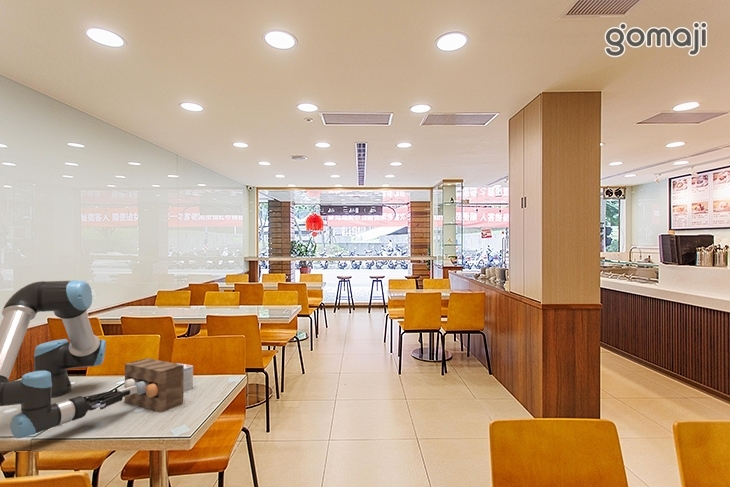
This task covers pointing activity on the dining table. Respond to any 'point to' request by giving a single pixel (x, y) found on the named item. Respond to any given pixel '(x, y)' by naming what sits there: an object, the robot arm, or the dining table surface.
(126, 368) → the panel
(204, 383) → the dining table surface
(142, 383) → the grey button
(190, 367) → the light bulb box
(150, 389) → the orange button
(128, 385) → the white button
